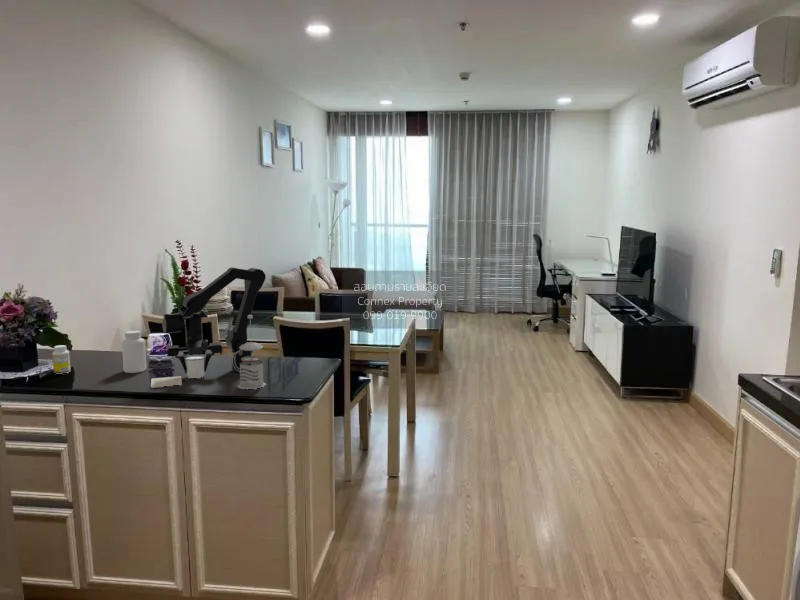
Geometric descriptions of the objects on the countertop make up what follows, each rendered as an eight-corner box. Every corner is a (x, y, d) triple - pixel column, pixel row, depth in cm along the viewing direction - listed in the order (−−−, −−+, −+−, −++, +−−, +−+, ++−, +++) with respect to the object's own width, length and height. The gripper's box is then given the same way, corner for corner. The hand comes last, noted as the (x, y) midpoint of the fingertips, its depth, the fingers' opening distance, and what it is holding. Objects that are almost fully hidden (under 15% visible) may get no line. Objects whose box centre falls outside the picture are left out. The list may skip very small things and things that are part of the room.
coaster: (181, 377, 219) (181, 375, 219) (181, 385, 210) (181, 383, 210) (151, 380, 216) (151, 378, 216) (150, 387, 207) (150, 385, 206)
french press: (259, 390, 205) (257, 317, 201) (227, 388, 207) (225, 316, 203) (270, 382, 214) (269, 313, 211) (240, 380, 216) (238, 311, 213)
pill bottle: (118, 372, 226) (116, 332, 224) (135, 367, 234) (133, 329, 231) (134, 374, 223) (132, 334, 221) (151, 369, 231) (149, 330, 228)
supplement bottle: (59, 371, 227) (57, 344, 226) (73, 371, 227) (72, 344, 225) (50, 374, 222) (48, 347, 220) (64, 375, 221) (62, 348, 220)
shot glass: (209, 375, 223) (208, 356, 222) (196, 380, 217) (195, 361, 216) (195, 373, 226) (194, 354, 225) (181, 377, 220) (180, 358, 218)
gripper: (166, 336, 208) (168, 380, 210) (222, 333, 215) (224, 375, 217) (166, 330, 218) (168, 372, 220) (220, 327, 225) (221, 368, 227)
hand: (195, 372), depth 221 cm, fingers closed on shot glass, 6 cm apart
